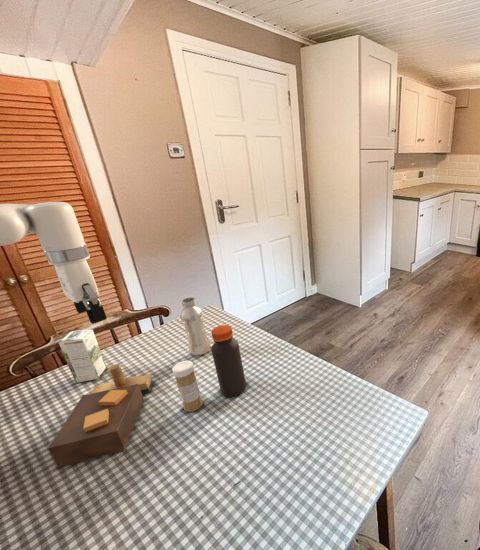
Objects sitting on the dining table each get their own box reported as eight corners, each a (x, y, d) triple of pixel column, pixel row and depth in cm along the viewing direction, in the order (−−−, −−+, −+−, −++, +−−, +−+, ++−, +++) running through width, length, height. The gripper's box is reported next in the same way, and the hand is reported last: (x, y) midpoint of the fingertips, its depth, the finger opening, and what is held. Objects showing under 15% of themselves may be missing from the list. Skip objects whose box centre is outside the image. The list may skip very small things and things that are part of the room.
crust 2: (99, 405, 74) (98, 401, 74) (112, 393, 78) (110, 389, 77) (116, 405, 74) (114, 401, 74) (127, 393, 78) (126, 389, 77)
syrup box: (85, 371, 95) (68, 331, 89) (107, 367, 96) (92, 328, 91) (75, 383, 90) (56, 342, 84) (99, 379, 91) (82, 338, 86)
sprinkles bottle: (186, 401, 83) (175, 361, 78) (205, 398, 84) (194, 358, 79) (181, 414, 79) (169, 372, 74) (200, 411, 80) (189, 369, 75)
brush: (93, 405, 82) (80, 377, 78) (99, 395, 85) (87, 367, 82) (149, 392, 86) (140, 365, 83) (153, 383, 90) (144, 357, 86)
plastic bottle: (216, 347, 106) (204, 296, 98) (201, 359, 100) (188, 306, 92) (200, 345, 108) (188, 294, 100) (185, 356, 101) (171, 303, 94)
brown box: (52, 469, 65) (41, 449, 63) (86, 414, 79) (77, 396, 77) (124, 450, 69) (116, 431, 67) (144, 400, 83) (138, 383, 81)
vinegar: (215, 395, 85) (201, 334, 78) (231, 379, 91) (219, 321, 84) (236, 399, 84) (224, 338, 76) (251, 383, 90) (240, 324, 82)
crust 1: (85, 432, 67) (83, 428, 66) (87, 420, 70) (85, 416, 69) (108, 423, 69) (106, 419, 69) (109, 412, 72) (107, 408, 72)
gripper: (37, 252, 75) (63, 313, 81) (58, 265, 66) (85, 332, 72) (76, 245, 81) (97, 302, 87) (100, 256, 72) (122, 319, 78)
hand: (92, 316), depth 80 cm, fingers open, 9 cm apart
